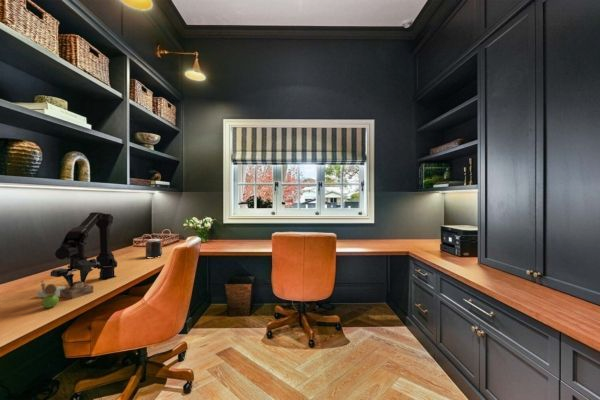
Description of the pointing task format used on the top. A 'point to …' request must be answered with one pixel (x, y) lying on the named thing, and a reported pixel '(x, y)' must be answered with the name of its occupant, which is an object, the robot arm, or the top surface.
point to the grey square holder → (76, 292)
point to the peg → (77, 285)
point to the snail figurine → (49, 295)
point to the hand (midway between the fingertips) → (77, 285)
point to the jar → (153, 248)
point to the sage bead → (41, 294)
